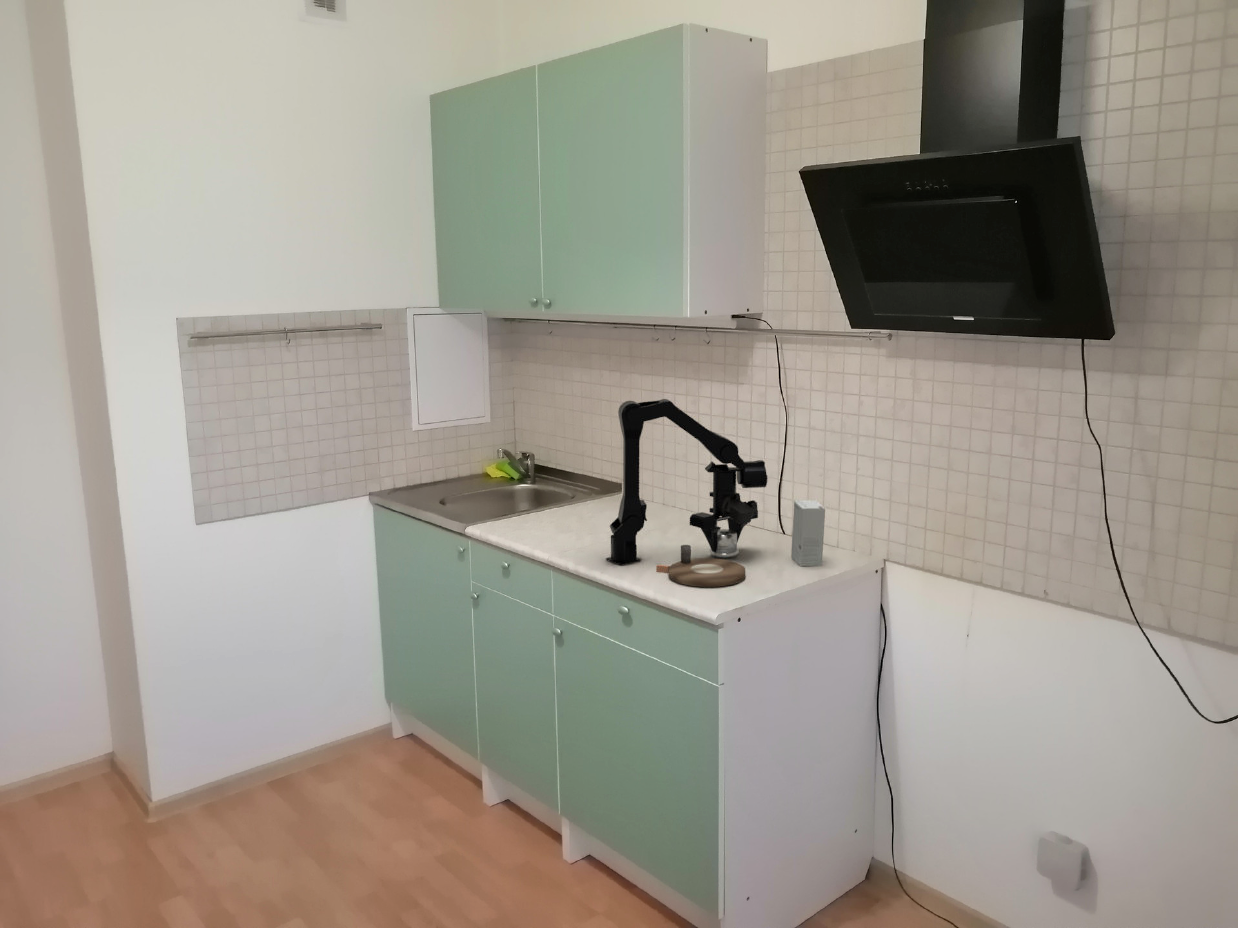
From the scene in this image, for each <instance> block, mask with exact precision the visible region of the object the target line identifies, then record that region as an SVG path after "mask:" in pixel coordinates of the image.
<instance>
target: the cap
mask: <svg viewBox="0 0 1238 928" xmlns="http://www.w3.org/2000/svg"><path fill="white" fill-rule="evenodd" d="M709 554H710V555H711V556H712V557H715V558H734V557H737V556H738V555H739V549H738V542H737V532H736V531H734V530H729V528H728V529H727V528H725V529H723V528H721V529H720V530H719V531H718V533H717V549H716V552H713V551H712V550H711V548H710V549H709Z"/></svg>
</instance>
